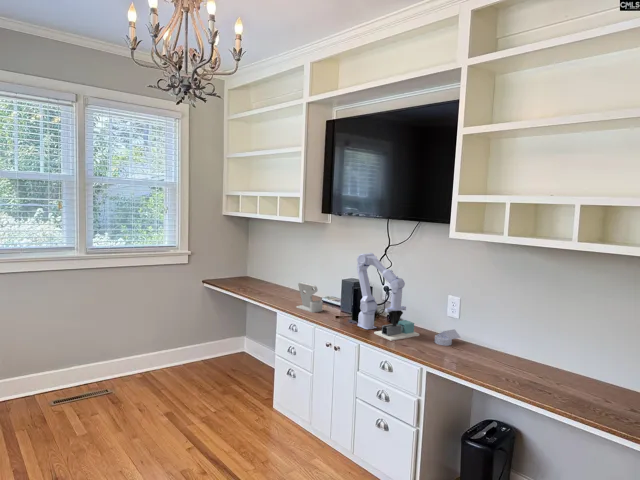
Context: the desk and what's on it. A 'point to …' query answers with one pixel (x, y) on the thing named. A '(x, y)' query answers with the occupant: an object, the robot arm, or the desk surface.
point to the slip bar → (401, 326)
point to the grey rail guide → (391, 329)
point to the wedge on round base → (446, 337)
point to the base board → (398, 336)
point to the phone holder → (309, 298)
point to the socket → (407, 326)
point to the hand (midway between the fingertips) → (394, 323)
